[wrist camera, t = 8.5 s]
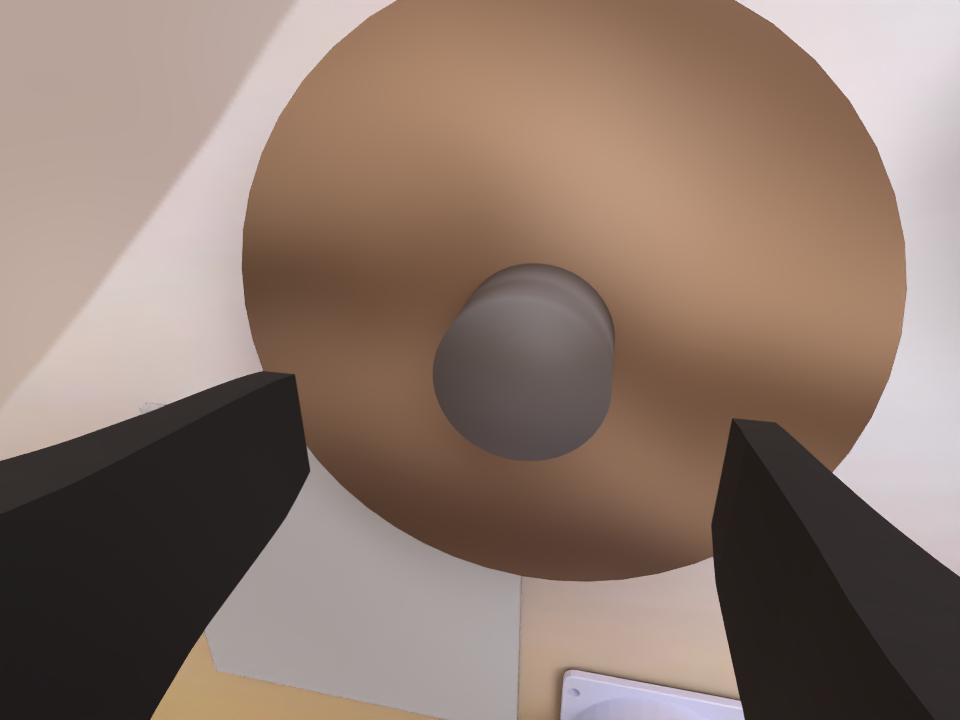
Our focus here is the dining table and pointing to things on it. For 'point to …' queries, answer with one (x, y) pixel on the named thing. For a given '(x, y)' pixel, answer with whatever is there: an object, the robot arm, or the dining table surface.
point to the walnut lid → (569, 270)
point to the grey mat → (371, 614)
